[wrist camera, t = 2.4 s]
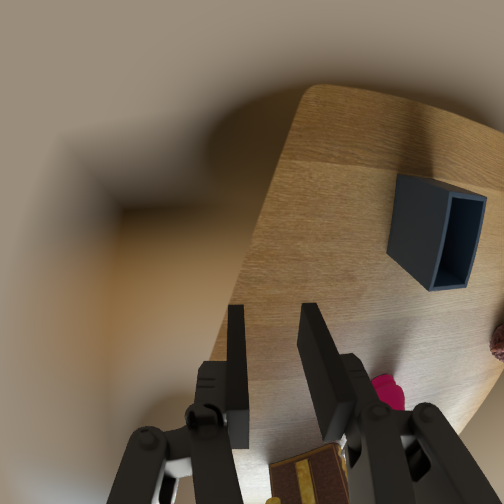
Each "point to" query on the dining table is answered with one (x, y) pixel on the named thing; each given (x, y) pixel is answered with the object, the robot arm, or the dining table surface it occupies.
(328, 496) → the book
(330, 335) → the robot arm
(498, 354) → the pine cone
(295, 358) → the dining table surface
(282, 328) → the dining table surface
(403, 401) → the pepper mill
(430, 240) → the gray box
